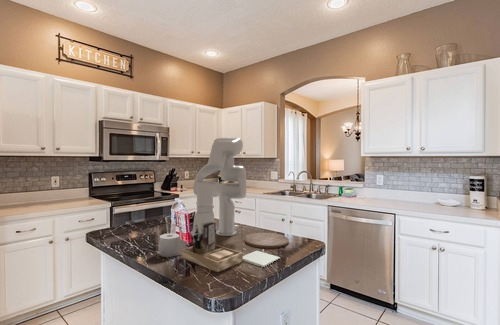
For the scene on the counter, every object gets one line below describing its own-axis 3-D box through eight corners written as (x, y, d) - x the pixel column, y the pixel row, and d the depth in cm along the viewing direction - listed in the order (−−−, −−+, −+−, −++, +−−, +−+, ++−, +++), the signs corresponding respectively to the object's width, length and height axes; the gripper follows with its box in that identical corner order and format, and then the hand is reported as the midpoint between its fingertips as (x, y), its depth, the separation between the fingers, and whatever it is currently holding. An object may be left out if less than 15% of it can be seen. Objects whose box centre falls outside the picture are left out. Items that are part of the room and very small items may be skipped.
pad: (256, 252, 136) (256, 250, 136) (280, 259, 127) (280, 257, 127) (239, 259, 126) (239, 257, 126) (263, 267, 117) (263, 265, 117)
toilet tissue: (189, 253, 133) (189, 236, 133) (161, 258, 126) (161, 239, 126) (183, 248, 141) (184, 231, 141) (157, 252, 134) (157, 234, 134)
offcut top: (224, 255, 126) (224, 249, 126) (234, 258, 122) (234, 253, 122) (209, 260, 119) (209, 254, 119) (219, 264, 115) (219, 258, 115)
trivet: (295, 240, 158) (295, 237, 158) (275, 252, 138) (275, 248, 137) (259, 233, 172) (259, 230, 172) (235, 243, 151) (236, 239, 151)
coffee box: (215, 256, 130) (216, 222, 130) (208, 260, 124) (208, 225, 124) (200, 253, 134) (200, 220, 133) (192, 257, 128) (192, 223, 128)
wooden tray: (207, 249, 139) (207, 241, 139) (242, 261, 124) (242, 252, 124) (181, 257, 127) (182, 249, 127) (217, 272, 112) (217, 262, 112)
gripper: (212, 206, 138) (212, 240, 138) (184, 210, 124) (184, 249, 124) (223, 207, 133) (222, 243, 133) (195, 213, 119) (194, 252, 120)
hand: (204, 246), depth 129 cm, fingers closed on coffee box, 7 cm apart
